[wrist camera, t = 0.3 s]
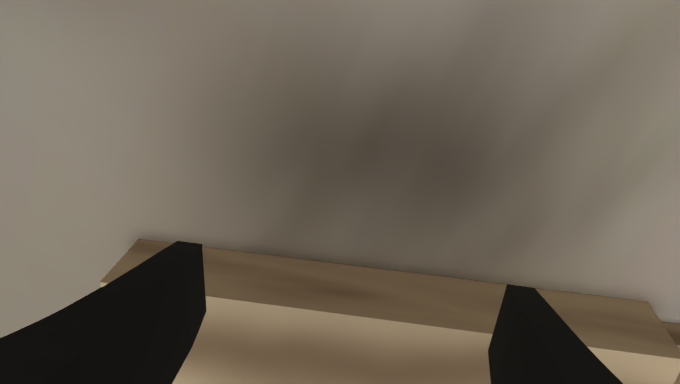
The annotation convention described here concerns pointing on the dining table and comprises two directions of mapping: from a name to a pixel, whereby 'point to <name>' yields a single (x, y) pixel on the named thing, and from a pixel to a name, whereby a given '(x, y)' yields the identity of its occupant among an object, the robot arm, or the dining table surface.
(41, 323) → the robot arm
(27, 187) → the dining table surface
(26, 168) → the dining table surface
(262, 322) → the oak plank
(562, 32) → the dining table surface
